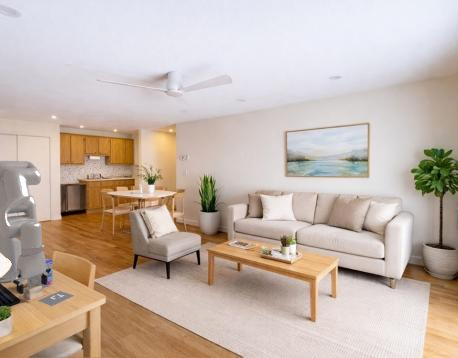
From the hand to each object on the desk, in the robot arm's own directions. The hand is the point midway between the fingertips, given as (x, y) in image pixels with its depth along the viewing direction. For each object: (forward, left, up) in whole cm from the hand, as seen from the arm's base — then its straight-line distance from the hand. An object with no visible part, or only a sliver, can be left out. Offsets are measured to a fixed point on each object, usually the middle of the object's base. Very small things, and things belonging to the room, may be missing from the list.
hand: (32, 288), depth 121 cm
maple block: (0, 0, -3) cm, 3 cm away
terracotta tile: (0, 0, -4) cm, 4 cm away
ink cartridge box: (-10, +9, -4) cm, 14 cm away
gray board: (+10, +4, -4) cm, 11 cm away
